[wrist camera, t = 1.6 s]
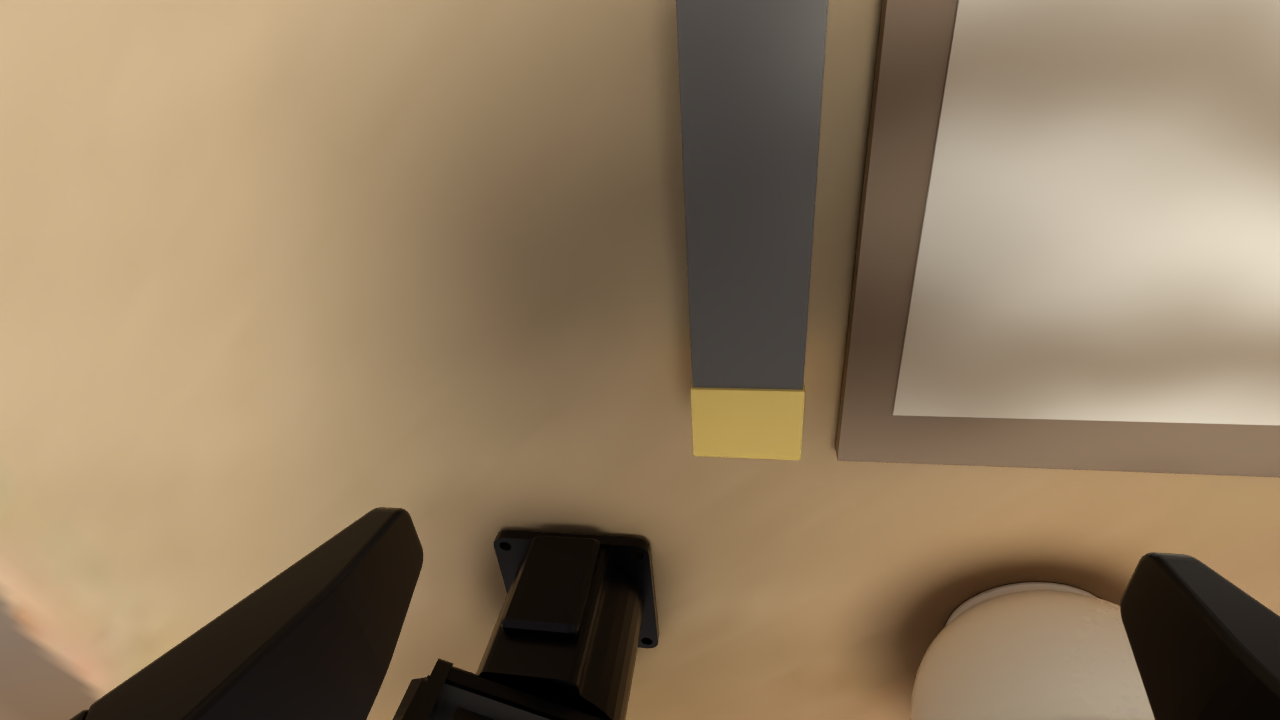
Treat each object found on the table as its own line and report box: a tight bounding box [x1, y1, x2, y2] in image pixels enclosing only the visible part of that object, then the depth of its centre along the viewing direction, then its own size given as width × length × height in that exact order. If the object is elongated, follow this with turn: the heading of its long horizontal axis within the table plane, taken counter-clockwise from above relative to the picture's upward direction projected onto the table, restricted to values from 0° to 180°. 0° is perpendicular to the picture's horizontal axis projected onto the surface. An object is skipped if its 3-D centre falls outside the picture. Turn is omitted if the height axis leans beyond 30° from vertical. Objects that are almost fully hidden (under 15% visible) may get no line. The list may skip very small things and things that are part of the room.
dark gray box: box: [676, 0, 828, 460], centre depth 16 cm, size 14×3×3 cm, turn 4°
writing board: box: [836, 0, 1280, 477], centre depth 14 cm, size 22×16×1 cm
